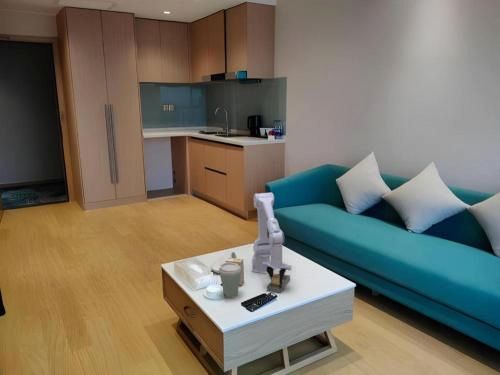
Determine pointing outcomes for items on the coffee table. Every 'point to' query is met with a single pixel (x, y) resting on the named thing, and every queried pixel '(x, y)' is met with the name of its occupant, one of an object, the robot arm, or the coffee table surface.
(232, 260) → the supplement box
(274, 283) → the wooden block
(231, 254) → the spoon rest
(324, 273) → the coffee table surface
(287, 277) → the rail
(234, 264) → the disposable coffee cup
